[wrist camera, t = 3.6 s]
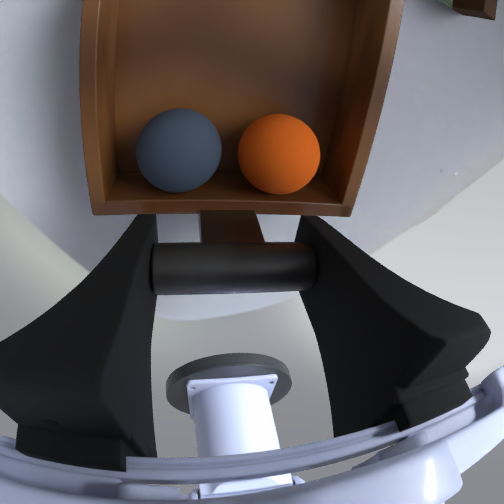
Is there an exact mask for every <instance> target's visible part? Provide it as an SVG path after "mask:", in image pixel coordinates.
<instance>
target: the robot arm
mask: <svg viewBox="0 0 504 504" xmlns="http://www.w3.org/2000/svg"><path fill="white" fill-rule="evenodd" d="M295 242H308V243H310V244H311V245H312V246H313V248H314V250H315V254H316V258H317V276H316V281H315V284H314V286H313V287H312V288H311V289H309V290H304V291H299V293H300V296H301V298H302V301H303V303H304V306H305V309H306V311H307V314H308V316H309V319H310V321H311V324H312V327H313V329H314V332H315V335H316V339H317V342H318V346H319V350H320V354H321V358H322V362H323V367H324V372H325V377H326V382H327V387H328V393H329V400H330V406H331V414H332V423H333V433H334V438H332V439H327V440H323V441H318V442H314V443H309V444H304V445H299V446H294V447H288V448H282V449H280V446H279V441H278V437H277V432H276V428H275V424H274V419H273V415H272V410H271V406H270V401H269V399H270V396H271V394H272V392H273V389H274V387H275V385H276V382H277V380H278V377H277V375H276V374H268V375H258V376H247V377H234V378H218V379H196V380H188V381H187V382H186V386H187V394H188V402H189V410H190V417H191V419H192V420H194V422H195V432H196V442H197V451H198V457H187V458H157V452H156V443H155V434H154V423H153V409H152V392H151V339H152V330H153V322H154V315H155V307H156V300H157V295H156V294H154V292H153V288H152V281H151V252H152V247H153V244H154V243H158V235H157V220H156V214H138V215H137V216H136V217H135V219H134V220H133V221H132V223H131V224H130V226H129V227H128V228H127V230H126V231H125V232H124V233H123V235H122V236H121V237H120V239H119V240H118V241H117V242H116V244H115V245H114V246H113V247H112V249H111V250H110V251H109V252H108V253H107V255H106V256H105V257H104V258H103V259H102V260H101V261H100V263H99V264H98V265H97V266H96V267H95V268H94V269H93V270H92V271H91V273H90V274H89V275H88V276H87V277H86V278H85V279H84V280H83V281H82V282H81V283H80V284H79V285H77V287H75V288H74V289H73V290H72V291H71V292H69V293H68V294H67V295H66V296H65V297H64V298H62V299H61V300H60V301H59V302H58V303H57V304H55V305H54V306H53V307H52V308H50V309H49V310H48V311H46V312H45V313H44V314H42V315H41V316H40V317H38V318H37V319H36V320H34V321H33V322H31V323H30V324H28V325H27V326H25V327H24V328H22V329H20V330H19V331H18V332H16V333H14V334H12V335H11V336H9V337H8V338H6V339H5V340H3V341H1V342H0V409H1V410H2V411H3V412H4V413H6V414H7V415H8V416H9V417H10V418H11V419H13V420H14V421H15V422H16V423H18V429H17V437H16V439H14V438H11V437H7V436H3V435H0V504H445V502H444V501H446V500H448V499H449V498H450V497H452V496H453V495H454V494H456V493H457V492H459V490H460V489H461V486H462V483H463V482H462V479H461V476H460V474H461V473H463V472H464V471H465V470H467V469H468V468H469V467H471V466H472V465H473V464H474V463H476V462H477V461H478V460H479V459H481V458H482V457H483V456H484V455H486V454H487V453H488V452H489V451H490V450H492V448H494V447H495V446H496V445H497V444H498V443H499V442H501V440H503V439H504V366H502V367H500V368H499V369H497V370H495V371H493V372H492V373H491V374H490V375H488V376H487V377H486V378H485V379H484V380H483V381H482V382H481V384H479V385H477V386H475V387H473V388H471V389H469V387H468V385H467V383H466V381H465V379H466V378H467V377H468V375H469V374H468V372H467V370H466V368H465V367H466V366H467V365H468V364H469V363H470V362H471V361H472V360H473V359H474V358H475V356H476V355H477V354H478V353H479V352H480V351H481V350H482V349H483V348H484V346H485V345H486V344H487V342H488V340H489V338H490V334H491V331H490V329H489V327H488V326H487V324H486V322H485V321H484V320H483V318H482V317H481V315H480V314H479V313H476V312H474V311H471V310H468V309H465V308H463V307H460V306H458V305H455V304H452V303H450V302H448V301H446V300H443V299H441V298H439V297H437V296H435V295H433V294H430V293H428V292H426V291H424V290H423V289H421V288H419V287H417V286H415V285H413V284H412V283H410V282H408V281H406V280H405V279H403V278H401V277H400V276H398V275H397V274H395V273H394V272H392V271H390V270H388V269H387V268H386V267H384V266H383V265H381V264H380V263H379V262H377V261H376V260H375V259H373V258H372V257H370V256H369V255H368V254H366V253H365V252H364V251H362V250H361V249H360V248H358V247H357V246H356V245H355V244H353V243H352V242H351V241H350V240H348V239H347V238H346V237H345V236H343V235H342V234H341V233H340V232H338V231H337V230H336V229H334V228H333V227H332V226H331V225H329V224H328V223H327V222H325V221H324V220H323V219H321V218H320V217H318V216H312V215H301V218H300V222H299V226H298V230H297V234H296V238H295ZM396 443H397V444H396ZM393 444H395V445H393ZM390 445H392V446H390ZM387 446H390V447H388V448H386V449H384V450H381V451H379V452H378V453H377V454H376V455H374V456H373V457H371V458H370V459H368V460H366V461H365V462H363V463H361V464H359V465H357V466H355V467H353V468H352V469H351V470H350V471H347V472H344V473H340V474H336V475H333V476H329V477H325V478H321V479H318V480H313V481H309V482H305V481H304V480H302V479H300V478H299V477H298V476H292V477H291V473H294V472H299V471H304V470H308V469H313V468H317V467H321V466H325V465H329V464H333V463H337V462H340V461H344V460H347V459H351V458H354V457H357V456H361V455H364V454H367V453H370V452H373V451H376V450H379V449H382V448H385V447H387ZM147 484H198V485H199V489H193V490H192V491H191V492H190V493H189V495H188V496H186V495H184V494H180V490H179V489H178V488H177V487H166V486H155V485H147Z"/></svg>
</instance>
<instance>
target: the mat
mask: <svg viewBox="0 0 504 504" xmlns="http://www.w3.org/2000/svg"><path fill="white" fill-rule="evenodd" d="M438 1H440V2H442V3H443V4H445V5H447V6H448V7H451V8H452V9H454V10H455V11H457V12H459V13H460V14H462V15H466V16H472V17H478V18H484V19H489V20H495V15H496V7H497V0H438Z"/></svg>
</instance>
